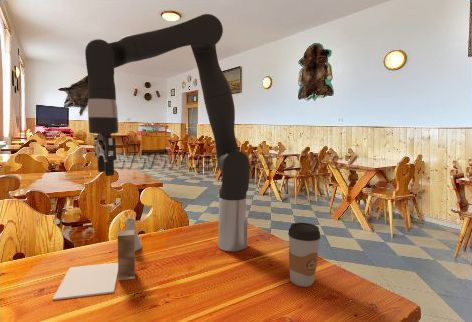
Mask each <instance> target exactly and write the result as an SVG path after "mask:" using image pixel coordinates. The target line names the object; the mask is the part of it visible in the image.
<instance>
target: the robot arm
mask: <svg viewBox="0 0 472 322" xmlns="http://www.w3.org/2000/svg"><path fill="white" fill-rule="evenodd" d="M223 29H224V28H223V24H222V22H221V20H220V19H219V18H218V17H217V16H215V15H213V14H210V13H205V14H201V15H199V16H196V17H194V18H191V19H189V20H186V21H183V22H180V23H177V24H173V25H170V26H167V27H162V28H157V29H154V30H148V31H143V32H139V33H138V32H137V33H135V34H134V33H133V34H130V35H126V36H123V37H120V39H119V40H116V41H112V42H107V41H106V40H104V39H100V38H96V39H93V40H90V41H89V42H87V44H86V46H85V49H84V51H85V52H84V55H85V63H86V64H85V65H86V71H87V81H88V82H87V94H88V95H87V97H88V98H87V99H88V103H87V117H88V118H87V119H88V133H89V134H95V135H97V136H94V139H93V140H94V156H95V158H96V160H97V171H98V172H99V173H104V174H105V176H106V177H112V176H114V175H115V161H116V160H117V158H118V157H117V149H116V147H117V145H116V138H115V137H112V134H118V133H119V116H118V106H117V105H118V104H117V94H116V92H117V91H116V84H115V68H118V67H119V68H120V67H121V66H124V65H126V64H130V63H133V62H139V61H144V60H149V59H152V58H155V57H157V56H160V55H164V54H166V53H168V52H171V51H174V50H177V49H180V48H183V47H184V48H185V47H189V46H190V48H191V51H192V55H193V57H194V61H195V63H196V67H197V71H198V75H199V82H200V86H201V90H202V94H203V95H202V96H203V101H204V106H205V110H206V113H207V117H208V121H209V126H210V129H211V131H212V135H213V139H214V143H215V152H216V162H217V165H218V170H219V171H220V172H221V173H222V174H221V186H220V188H219V190H218V227H217V230H218V231H217V232H218V233H217V234H218V236H217V237H218V238H217V242H218V243H217V244H218V245H217V247H218V249H220V250H221V251H225V252H240V251H242V250H244V249H247V248H248V227H249V226H248V224H249V223H248V220H247V217H246V216H247V193H248V191H249V187H250V175H251V173H250V172H251V171H250V170H251V169H250V168H251V165H250V160H249V157H248V155H247V154H246V153H245V152H243V151H240V149H239V146H238V142H237V138H236V134H235V132H236V131H235V121H236V118H235V117H236V116H235V115H236V110H235V109H236V108H235V102H234V98H233V93H232V89H231V86H230V84H229V82H228V80H227V78H226V76H225V74H224V72H223V71H222V69H221V66H220V63H219V60H218V55H217V54H218V53H217V48H216V47H217V46H216V45H217V44H218V43H219V41H220V40H221V39H222V37H223V33H224V30H223Z"/></svg>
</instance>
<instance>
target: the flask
mask: <svg viewBox="0 0 472 322" xmlns="http://www.w3.org/2000/svg"><path fill="white" fill-rule="evenodd" d="M124 222H125V230H135V252H137V251H139V250H141V249H142V247H143V244H142V242H141V240H140V238H139V235H138V232H137V229H136V225H135V222H136V218H135V217H130V218H129V217H127V218H125V219H124ZM125 230H124V231H125Z"/></svg>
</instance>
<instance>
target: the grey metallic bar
mask: <svg viewBox="0 0 472 322" xmlns="http://www.w3.org/2000/svg"><path fill="white" fill-rule="evenodd" d="M117 263H118V275H117V278H118V281H125V280H134V279H135V278H136V277H135V276H136V251H135V230H118V234H117Z"/></svg>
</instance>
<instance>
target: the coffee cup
mask: <svg viewBox="0 0 472 322" xmlns="http://www.w3.org/2000/svg"><path fill="white" fill-rule="evenodd" d="M287 234H288V259H289V261H288V262H289V264H288V265H289V279H290V282H291V283H292V284H293V285H295V286H297V287H298V286H299V287H301V288H302V287H305V288H306V287H312V285H313V284H314V282H315V278H316V277H315V276H316V271H317V265H318V264H317V263H318V258H319V257H318V256H319V253H318V252H319V246H320V239H321V231H320V228H319V226H317V225H315V224H313V223H308V222H294V223H291V225H290V226H289V228H288V232H287Z"/></svg>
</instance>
